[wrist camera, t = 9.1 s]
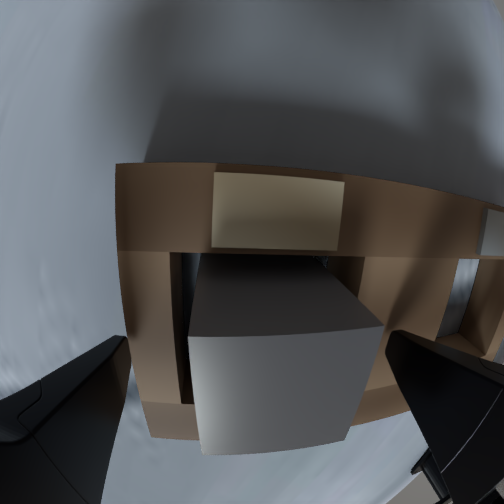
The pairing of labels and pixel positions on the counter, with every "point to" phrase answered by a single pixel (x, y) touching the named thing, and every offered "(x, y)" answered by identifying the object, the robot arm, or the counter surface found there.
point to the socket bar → (299, 243)
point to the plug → (276, 353)
